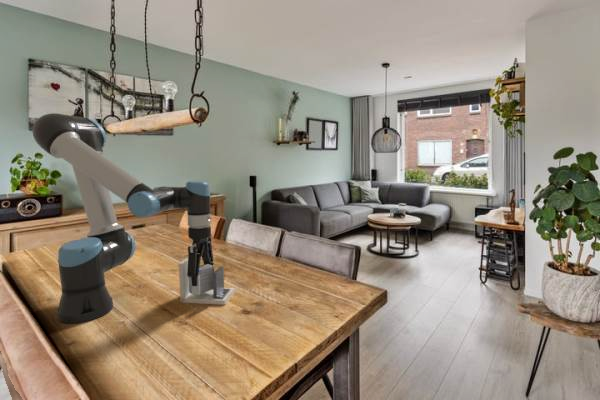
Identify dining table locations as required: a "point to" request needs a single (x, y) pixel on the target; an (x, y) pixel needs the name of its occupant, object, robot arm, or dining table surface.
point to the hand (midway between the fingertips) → (202, 288)
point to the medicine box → (204, 278)
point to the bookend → (219, 284)
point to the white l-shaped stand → (202, 298)
